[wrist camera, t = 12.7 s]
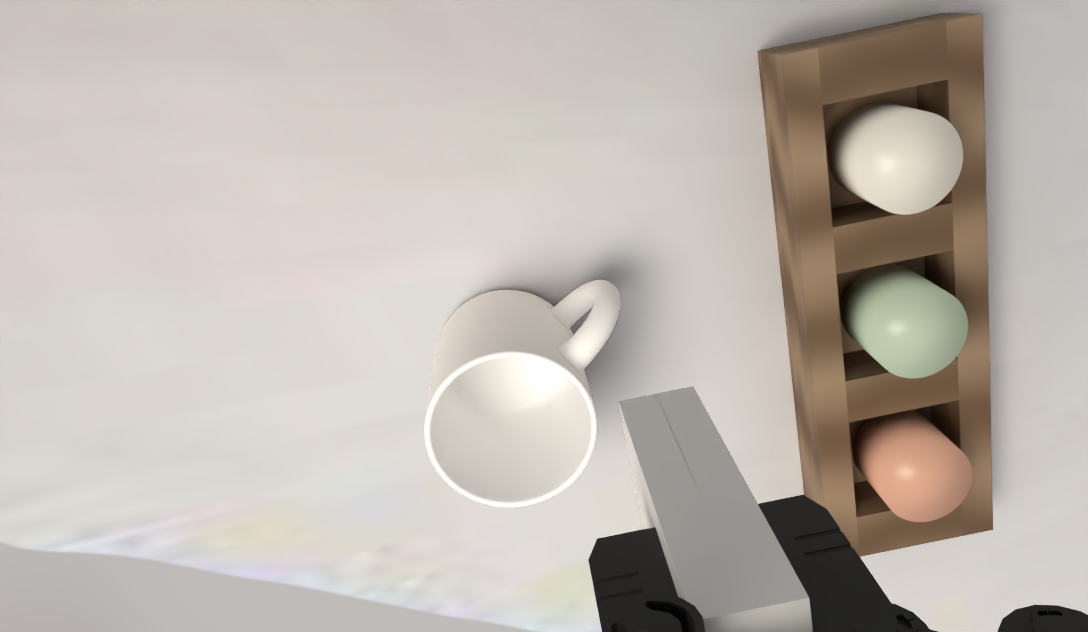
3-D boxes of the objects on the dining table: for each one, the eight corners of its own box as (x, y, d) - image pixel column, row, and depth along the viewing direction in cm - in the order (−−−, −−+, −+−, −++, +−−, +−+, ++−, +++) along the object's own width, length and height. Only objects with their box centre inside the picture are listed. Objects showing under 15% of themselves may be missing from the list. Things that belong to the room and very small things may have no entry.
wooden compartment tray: (757, 51, 47) (781, 55, 43) (942, 13, 47) (982, 13, 43) (807, 525, 57) (830, 562, 53) (959, 494, 57) (993, 529, 53)
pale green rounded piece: (837, 274, 49) (870, 299, 45) (925, 256, 49) (966, 279, 45) (844, 355, 50) (876, 387, 46) (929, 338, 50) (969, 368, 46)
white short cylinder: (824, 112, 46) (857, 122, 42) (918, 93, 46) (961, 101, 42) (831, 204, 47) (865, 223, 43) (922, 186, 47) (964, 203, 43)
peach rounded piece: (849, 417, 52) (881, 452, 48) (932, 400, 52) (971, 434, 48) (855, 489, 54) (886, 530, 49) (935, 473, 53) (973, 512, 49)
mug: (554, 210, 49) (572, 261, 39) (652, 310, 51) (691, 380, 41) (405, 352, 51) (387, 434, 41) (505, 441, 53) (510, 538, 44)
